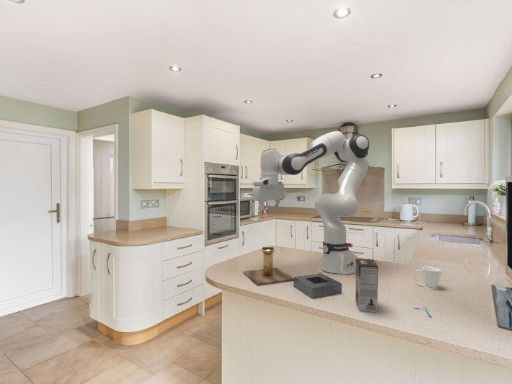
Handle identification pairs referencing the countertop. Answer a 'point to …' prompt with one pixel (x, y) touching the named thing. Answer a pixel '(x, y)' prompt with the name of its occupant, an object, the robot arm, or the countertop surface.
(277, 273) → the walnut board
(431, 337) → the countertop surface
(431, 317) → the squeegee
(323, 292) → the metal socket
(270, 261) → the brass peg
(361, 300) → the coffee box
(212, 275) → the countertop surface
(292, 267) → the countertop surface
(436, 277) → the cup
